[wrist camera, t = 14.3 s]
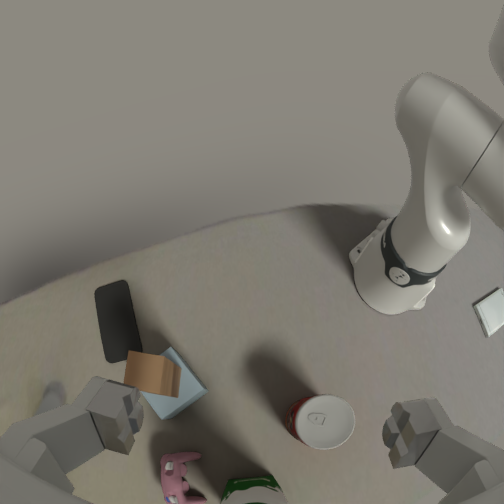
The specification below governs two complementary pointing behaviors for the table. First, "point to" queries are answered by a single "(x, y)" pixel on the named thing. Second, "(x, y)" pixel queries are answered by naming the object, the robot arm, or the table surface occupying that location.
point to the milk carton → (253, 491)
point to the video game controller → (177, 478)
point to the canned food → (321, 421)
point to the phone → (117, 321)
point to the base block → (188, 390)
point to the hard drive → (491, 312)
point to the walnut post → (152, 374)
